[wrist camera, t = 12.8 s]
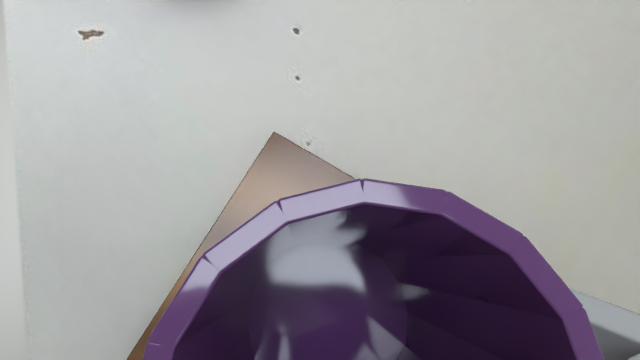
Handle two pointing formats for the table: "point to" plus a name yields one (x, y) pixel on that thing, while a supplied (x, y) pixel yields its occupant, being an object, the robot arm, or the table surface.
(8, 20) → the table surface
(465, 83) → the table surface
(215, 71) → the table surface
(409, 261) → the cup
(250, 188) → the mat
